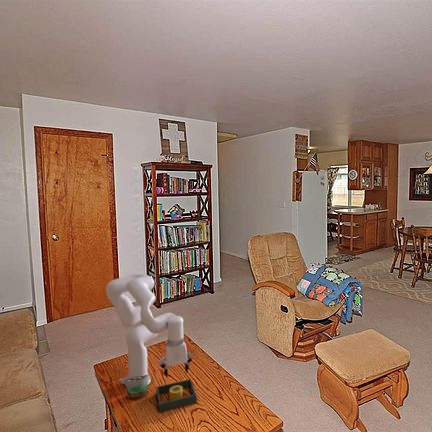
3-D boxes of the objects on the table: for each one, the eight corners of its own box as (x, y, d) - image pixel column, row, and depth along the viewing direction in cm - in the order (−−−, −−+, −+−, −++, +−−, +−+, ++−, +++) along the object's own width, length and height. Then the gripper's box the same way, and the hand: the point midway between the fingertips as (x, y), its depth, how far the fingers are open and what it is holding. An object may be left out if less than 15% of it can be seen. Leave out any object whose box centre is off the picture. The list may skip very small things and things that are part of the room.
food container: (124, 403, 170) (123, 384, 169) (123, 396, 176) (123, 378, 175) (150, 397, 176) (150, 378, 175) (149, 390, 181) (149, 372, 180)
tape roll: (170, 403, 171) (170, 394, 171) (168, 396, 177) (168, 387, 176) (183, 400, 174) (183, 391, 173) (181, 393, 180) (181, 384, 179)
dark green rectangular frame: (159, 412, 165) (159, 404, 164) (156, 393, 179) (156, 386, 178) (196, 402, 172) (196, 395, 172) (191, 385, 186) (190, 379, 186)
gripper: (158, 347, 165) (159, 381, 167) (194, 341, 173) (195, 373, 174) (157, 341, 172) (157, 373, 174) (192, 335, 179) (192, 366, 181)
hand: (176, 373), depth 174 cm, fingers open, 9 cm apart
